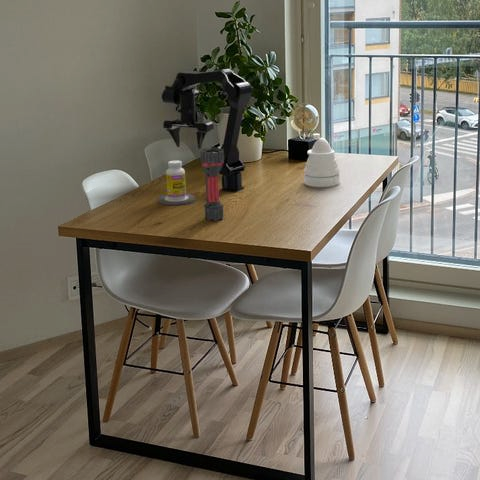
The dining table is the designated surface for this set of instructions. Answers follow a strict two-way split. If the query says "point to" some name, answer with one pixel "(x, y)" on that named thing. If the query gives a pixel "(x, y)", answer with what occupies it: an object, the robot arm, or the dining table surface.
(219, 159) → the flashlight
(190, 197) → the dock pad
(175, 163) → the supplement bottle
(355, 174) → the dining table surface
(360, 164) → the dining table surface
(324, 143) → the honey pot
